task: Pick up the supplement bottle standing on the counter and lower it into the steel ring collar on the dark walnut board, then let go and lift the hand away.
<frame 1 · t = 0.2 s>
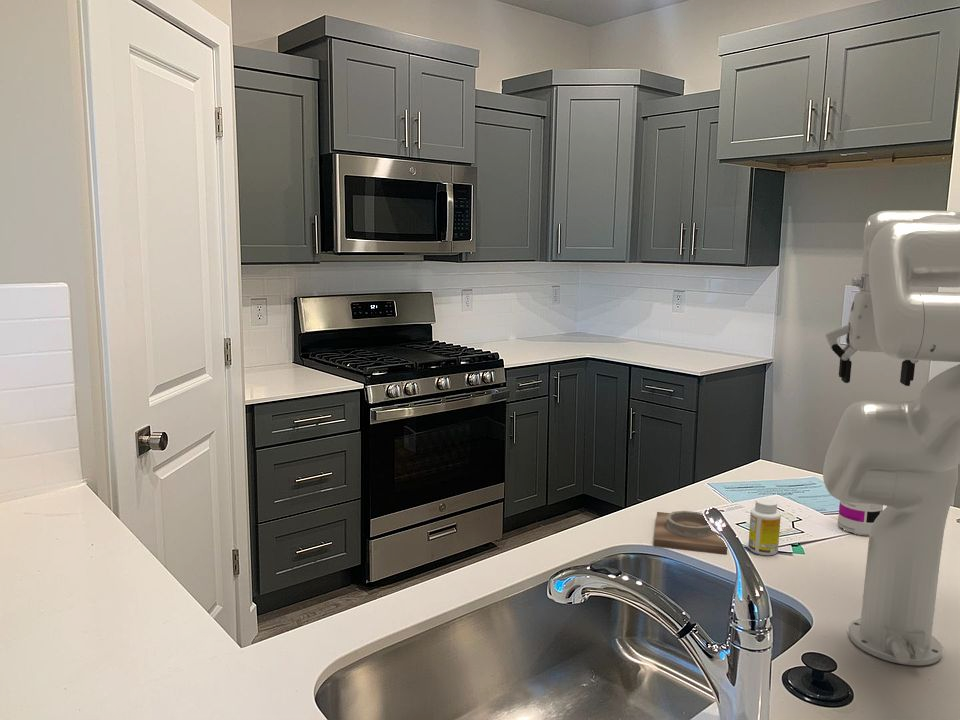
hand: (874, 383, 134), 36 cm above the countertop, tool pointing down, fingers open, 9 cm apart
collar board: (689, 535, 158), on the countertop
supplement can: (858, 530, 163), on the countertop
supplement bottle: (762, 551, 151), on the countertop
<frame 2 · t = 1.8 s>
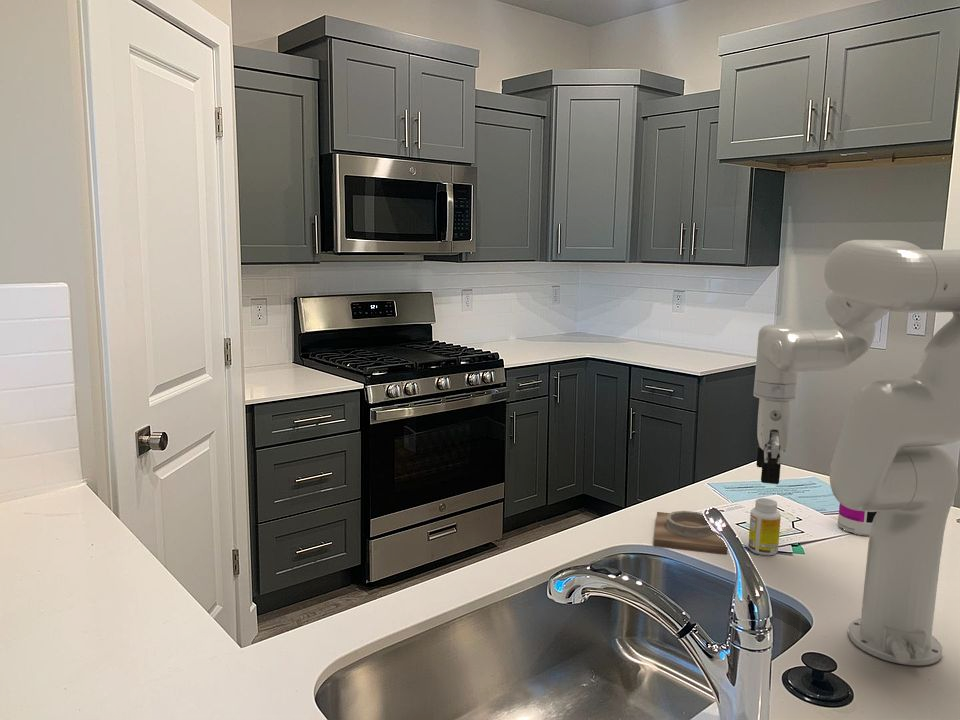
hand: (767, 474, 149), 15 cm above the countertop, tool pointing down, fingers open, 9 cm apart
nothing on the countertop moved.
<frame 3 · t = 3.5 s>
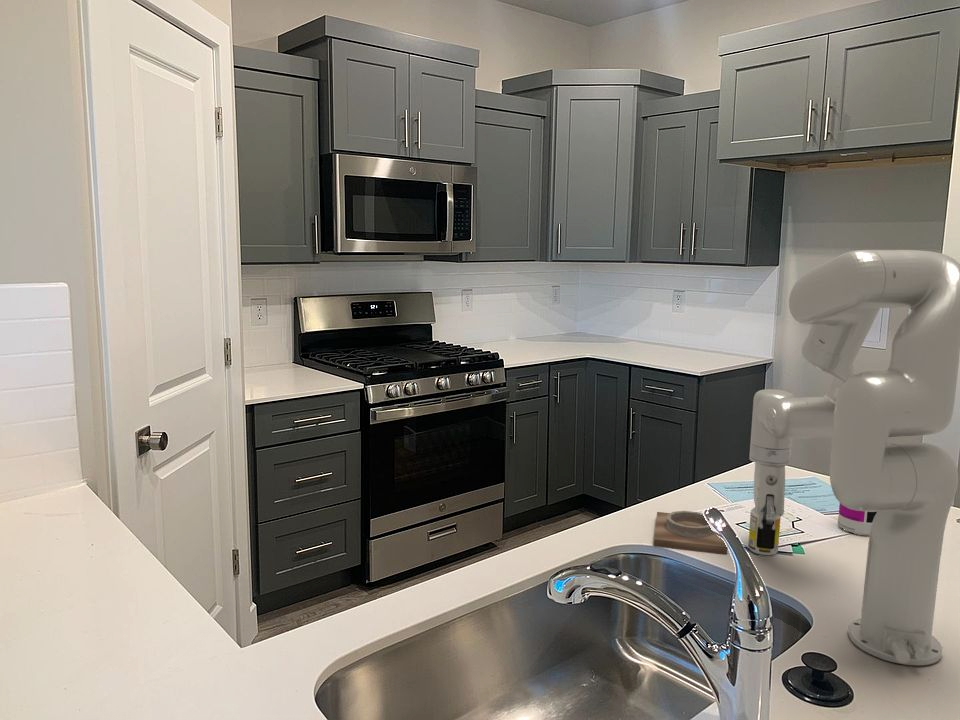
hand: (763, 540, 151), 2 cm above the countertop, tool pointing down, fingers closed on supplement bottle, 5 cm apart
supplement bottle: (762, 551, 151), on the countertop, touching gripper
everything else where it was.
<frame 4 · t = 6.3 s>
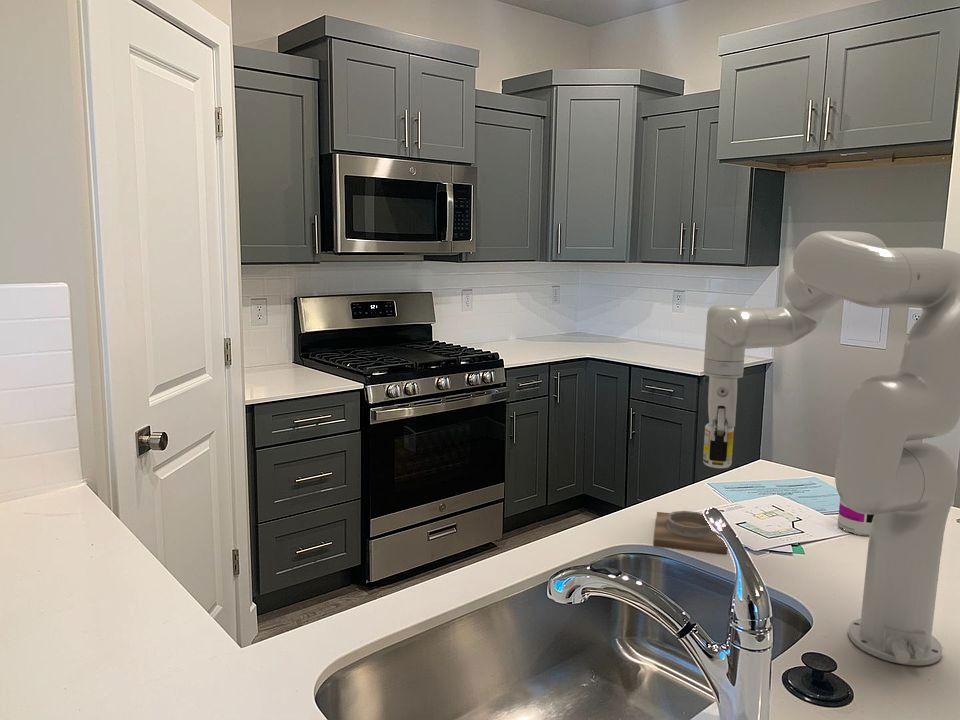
hand: (717, 455, 153), 18 cm above the countertop, tool pointing down, fingers closed on supplement bottle, 5 cm apart
supplement bottle: (716, 465, 154), point 16 cm above the countertop, touching gripper
everything else where it was.
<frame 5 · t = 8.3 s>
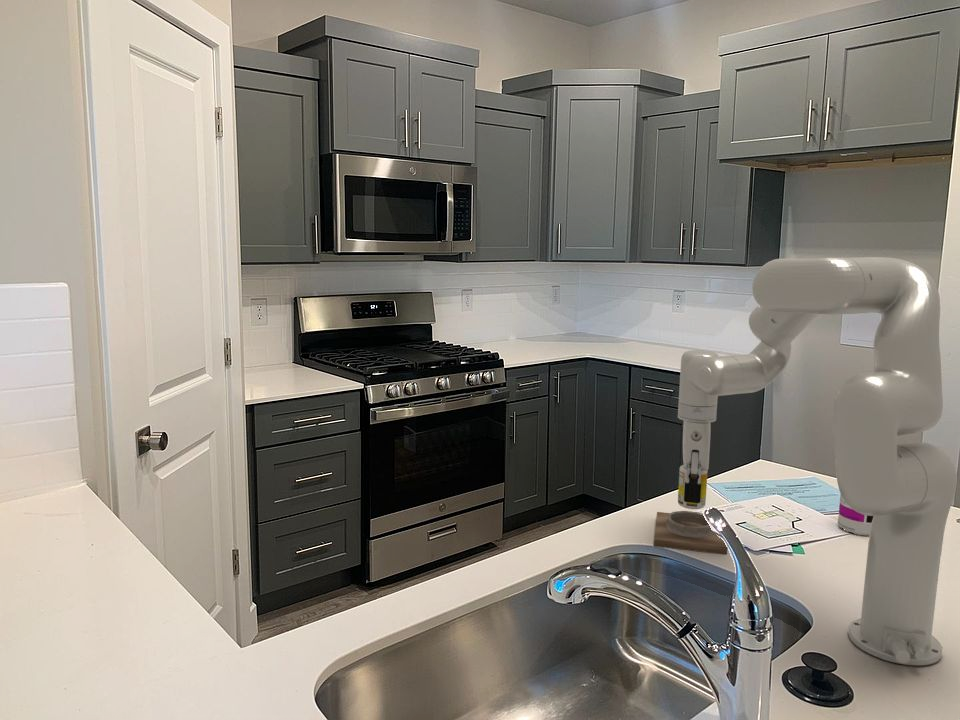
hand: (691, 496, 157), 8 cm above the countertop, tool pointing down, fingers closed on supplement bottle, 5 cm apart
supplement bottle: (691, 506, 157), point 6 cm above the countertop, touching gripper
everything else where it was.
when the fingers open (4 cm above the countertop, at t = 9.5 s): supplement bottle stays where it is, resting on collar board.
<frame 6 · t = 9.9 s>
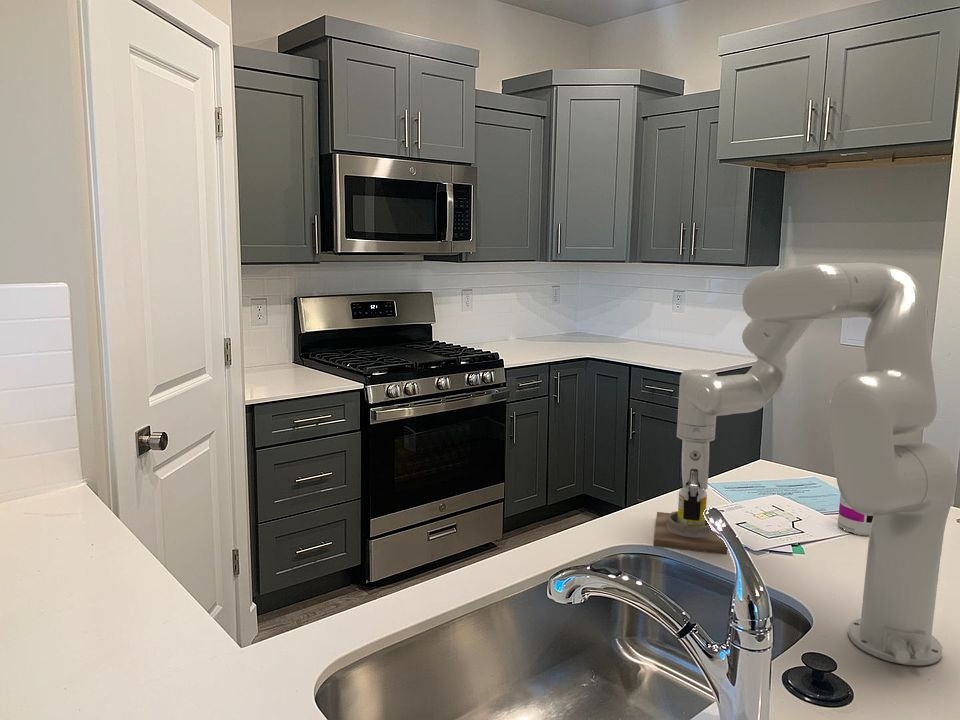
hand: (691, 511, 157), 5 cm above the countertop, tool pointing down, fingers open, 9 cm apart
supplement bottle: (690, 529, 158), point 1 cm above the countertop, touching collar board
everything else where it was.
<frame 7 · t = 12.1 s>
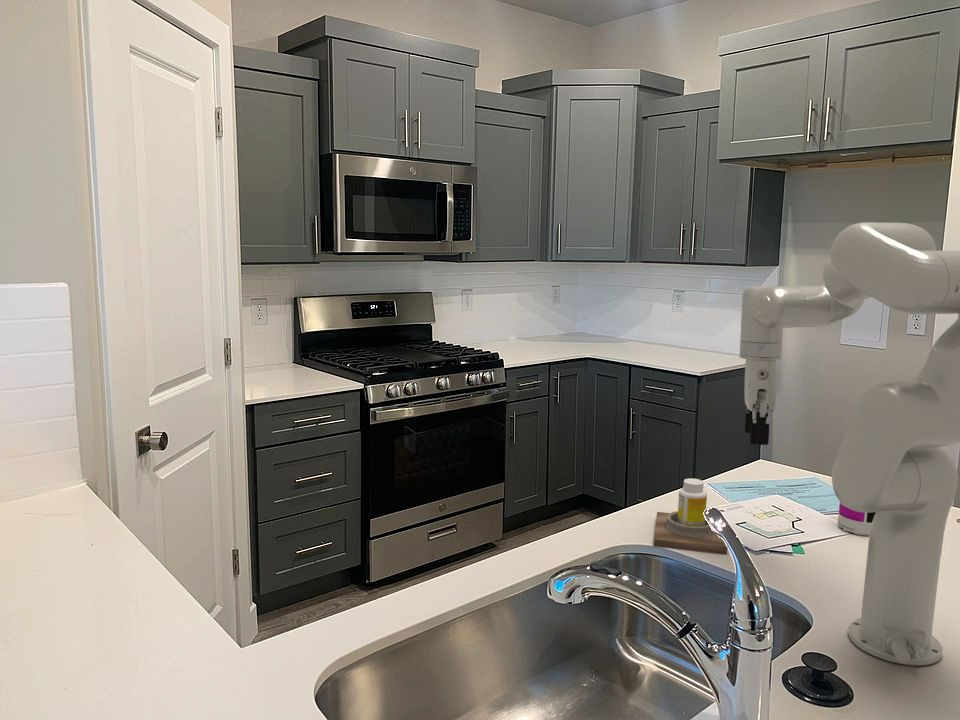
hand: (756, 438, 147), 23 cm above the countertop, tool pointing down, fingers open, 9 cm apart
nothing on the countertop moved.
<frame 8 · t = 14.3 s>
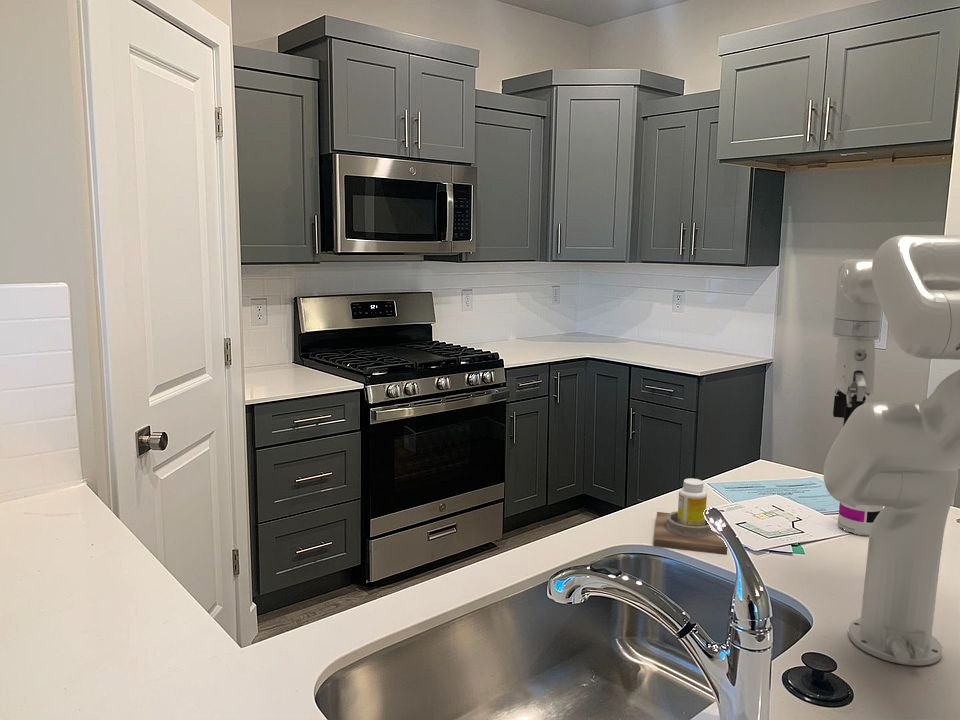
hand: (847, 423, 138), 28 cm above the countertop, tool pointing down, fingers open, 9 cm apart
nothing on the countertop moved.
at the end: supplement bottle 0.1 cm off-centre on the collar board, point 1.3 cm above the collar board's base; supplement bottle tilted 0°; the gripper is holding nothing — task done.
